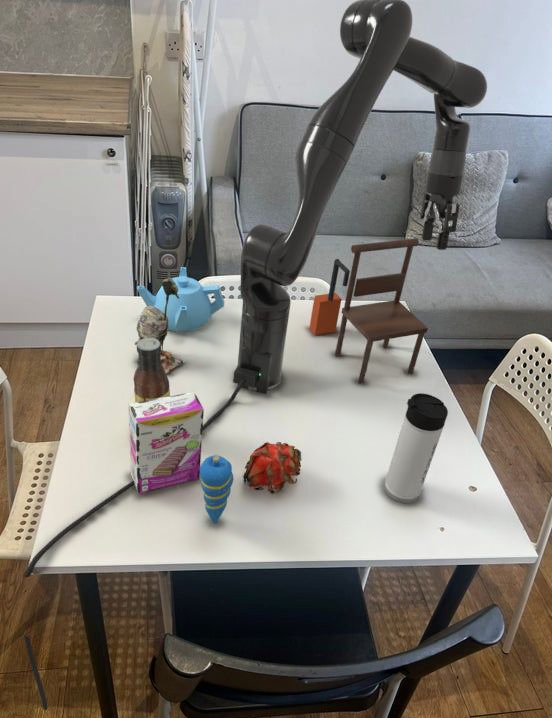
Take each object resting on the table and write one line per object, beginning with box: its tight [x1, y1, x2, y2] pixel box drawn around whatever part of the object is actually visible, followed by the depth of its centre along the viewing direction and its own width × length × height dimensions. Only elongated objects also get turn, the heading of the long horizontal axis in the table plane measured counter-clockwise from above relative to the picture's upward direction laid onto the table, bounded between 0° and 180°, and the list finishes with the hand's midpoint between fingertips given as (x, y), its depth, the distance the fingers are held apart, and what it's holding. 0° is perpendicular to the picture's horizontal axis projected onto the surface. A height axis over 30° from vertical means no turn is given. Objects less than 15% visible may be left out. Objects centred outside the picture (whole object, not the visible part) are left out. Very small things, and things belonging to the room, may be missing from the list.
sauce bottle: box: [133, 338, 171, 403], centre depth 113 cm, size 7×6×20 cm
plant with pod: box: [133, 277, 185, 374], centre depth 130 cm, size 8×11×20 cm
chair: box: [334, 237, 429, 385], centre depth 134 cm, size 12×15×27 cm
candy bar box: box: [128, 391, 205, 495], centre depth 105 cm, size 11×5×16 cm, turn 114°
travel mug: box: [383, 392, 449, 504], centre depth 106 cm, size 6×7×20 cm
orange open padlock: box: [308, 258, 351, 336], centre depth 144 cm, size 8×6×19 cm
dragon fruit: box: [242, 441, 303, 495], centre depth 109 cm, size 8×8×12 cm
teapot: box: [136, 266, 225, 333], centre depth 147 cm, size 15×15×11 cm
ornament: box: [199, 454, 234, 524], centre depth 99 cm, size 5×5×15 cm
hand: (433, 244), depth 148 cm, fingers open, 8 cm apart
